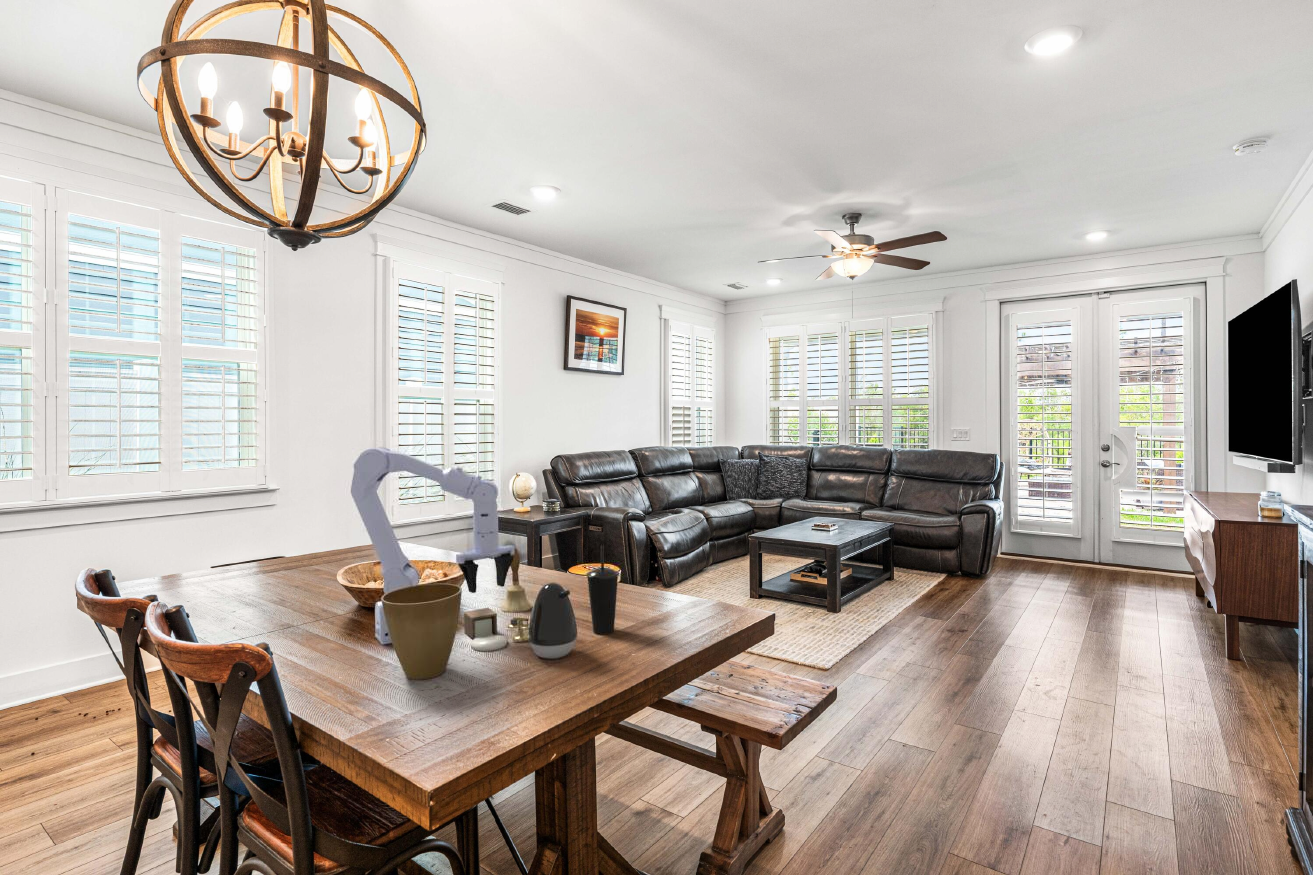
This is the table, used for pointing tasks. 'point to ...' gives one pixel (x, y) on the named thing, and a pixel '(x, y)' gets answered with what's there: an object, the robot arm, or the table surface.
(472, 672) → the table surface
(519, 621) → the balance
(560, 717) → the table surface
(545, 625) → the pump dispenser
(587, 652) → the table surface
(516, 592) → the hand bell
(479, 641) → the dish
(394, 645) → the plant pot
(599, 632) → the drinking cup
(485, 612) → the cover
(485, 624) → the block
